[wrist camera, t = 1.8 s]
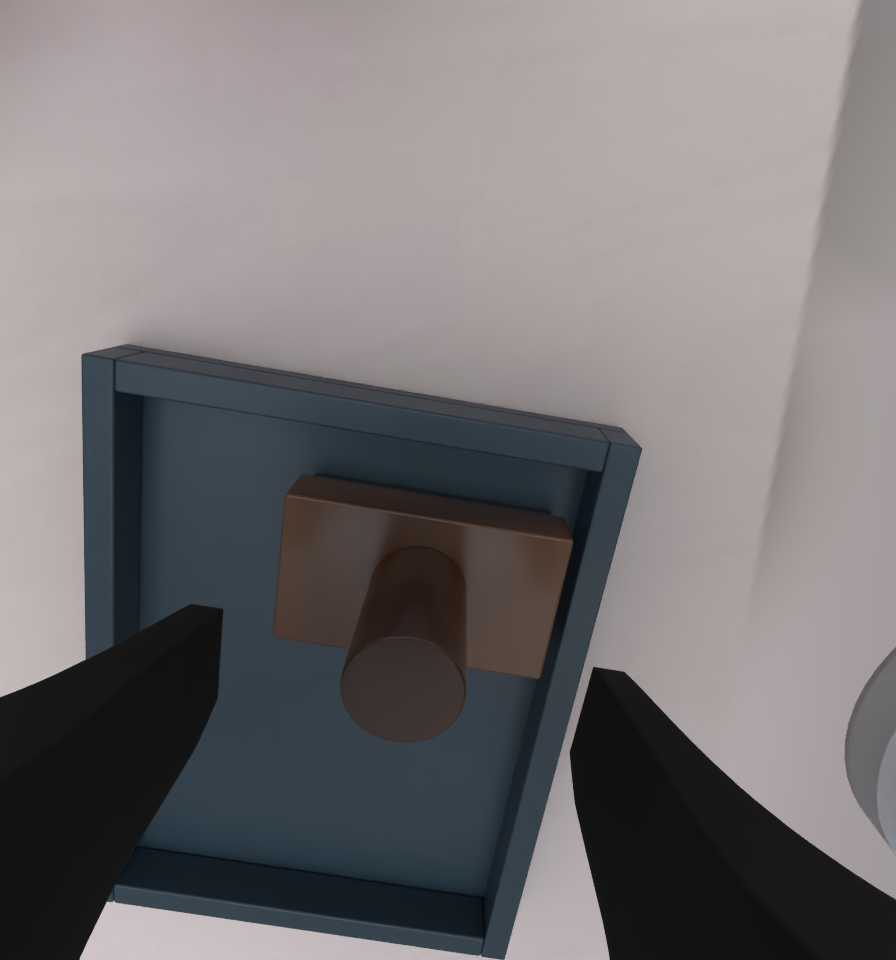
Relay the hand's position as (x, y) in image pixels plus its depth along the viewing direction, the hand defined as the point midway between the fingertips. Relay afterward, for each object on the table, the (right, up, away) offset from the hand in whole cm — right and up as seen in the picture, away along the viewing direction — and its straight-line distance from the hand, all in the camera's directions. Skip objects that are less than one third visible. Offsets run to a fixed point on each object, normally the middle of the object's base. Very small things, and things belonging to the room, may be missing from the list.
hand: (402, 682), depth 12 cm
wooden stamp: (0, +2, +6) cm, 6 cm away
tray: (-3, -2, +8) cm, 8 cm away
